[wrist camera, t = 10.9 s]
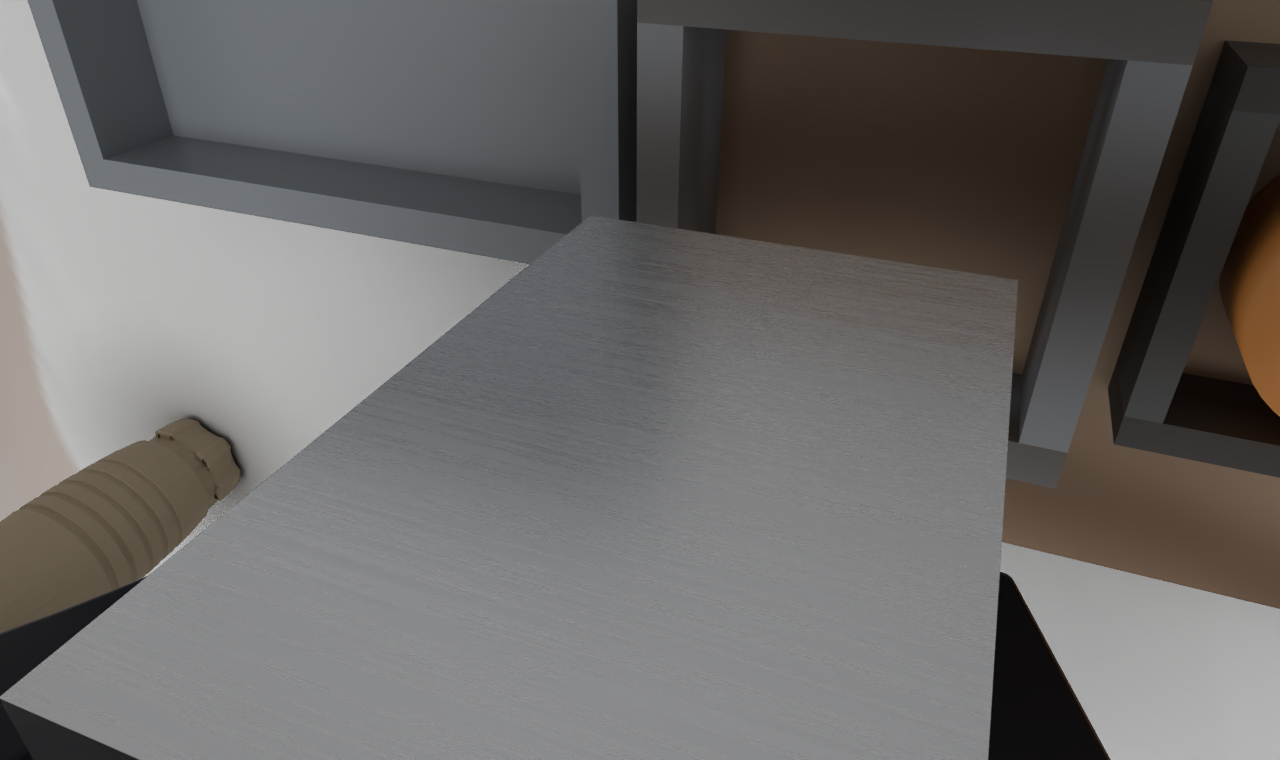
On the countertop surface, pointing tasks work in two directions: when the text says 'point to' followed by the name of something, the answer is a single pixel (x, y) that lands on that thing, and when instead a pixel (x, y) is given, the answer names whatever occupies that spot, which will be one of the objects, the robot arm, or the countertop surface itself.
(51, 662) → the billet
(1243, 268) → the button
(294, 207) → the tote
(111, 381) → the countertop surface
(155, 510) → the handle
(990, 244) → the brown wood panel
